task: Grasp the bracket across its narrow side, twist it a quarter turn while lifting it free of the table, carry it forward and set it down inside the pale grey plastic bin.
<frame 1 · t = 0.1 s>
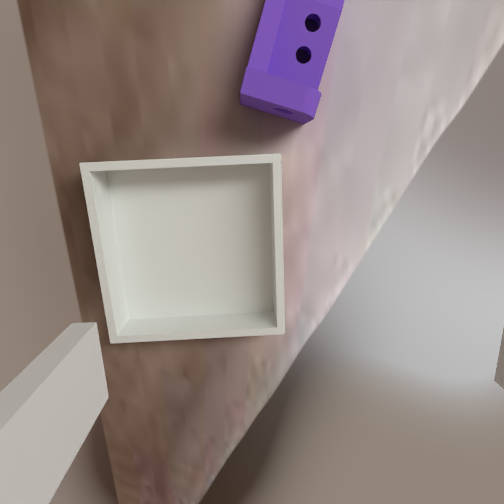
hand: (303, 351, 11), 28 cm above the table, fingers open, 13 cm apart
bin: (195, 243, 39), on the table
bracket: (289, 53, 34), on the table
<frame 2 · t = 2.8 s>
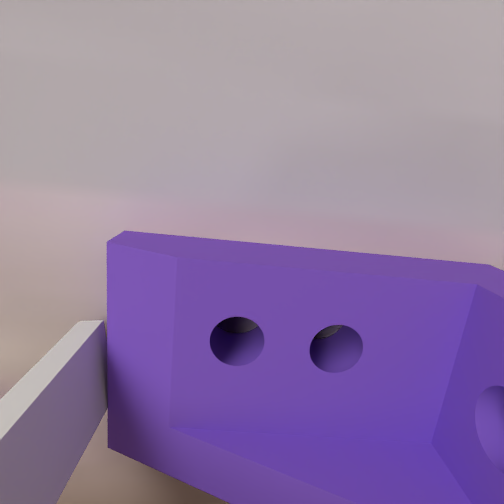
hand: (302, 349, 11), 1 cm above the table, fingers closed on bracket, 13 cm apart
bracket: (296, 339, 12), on the table, touching gripper
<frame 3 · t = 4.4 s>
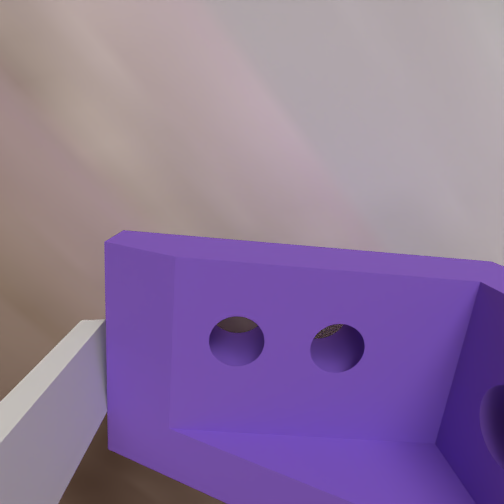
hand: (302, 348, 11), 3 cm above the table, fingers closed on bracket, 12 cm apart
bracket: (298, 338, 12), point 3 cm above the table, touching gripper
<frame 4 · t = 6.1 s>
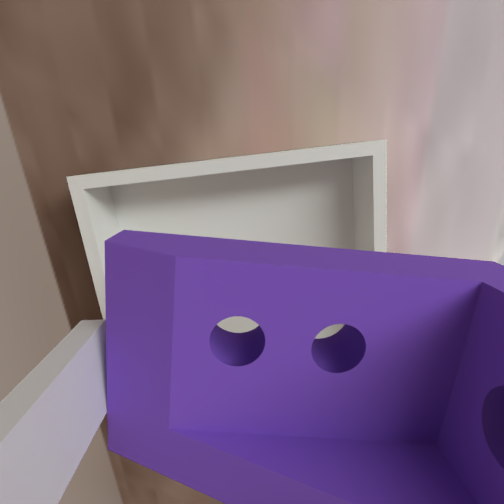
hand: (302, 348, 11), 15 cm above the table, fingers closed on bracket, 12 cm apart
bin: (244, 280, 27), on the table
bracket: (298, 339, 12), point 14 cm above the table, touching gripper
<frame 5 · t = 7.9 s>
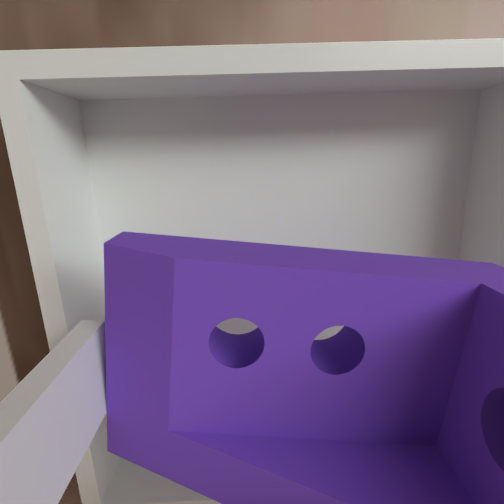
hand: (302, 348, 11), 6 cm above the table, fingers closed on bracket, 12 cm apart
bin: (281, 279, 17), on the table
bracket: (298, 340, 12), point 6 cm above the table, touching gripper
when the fingers open (3 cm above the table, at t = 9.2 s): bracket drops 2 cm, resting on bin.
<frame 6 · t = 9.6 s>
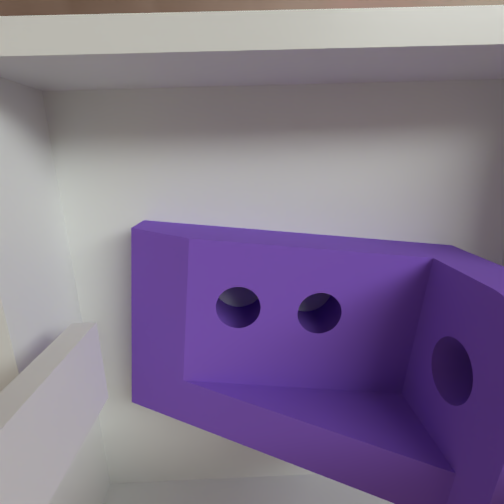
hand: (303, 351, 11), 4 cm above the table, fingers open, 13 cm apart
bin: (288, 304, 15), on the table
bracket: (290, 312, 14), resting on bin
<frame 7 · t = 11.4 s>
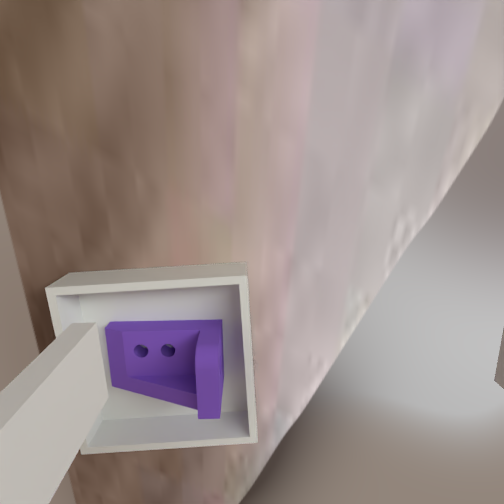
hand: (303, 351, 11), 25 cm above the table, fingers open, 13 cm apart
bin: (168, 346, 38), on the table
bracket: (169, 348, 38), resting on bin
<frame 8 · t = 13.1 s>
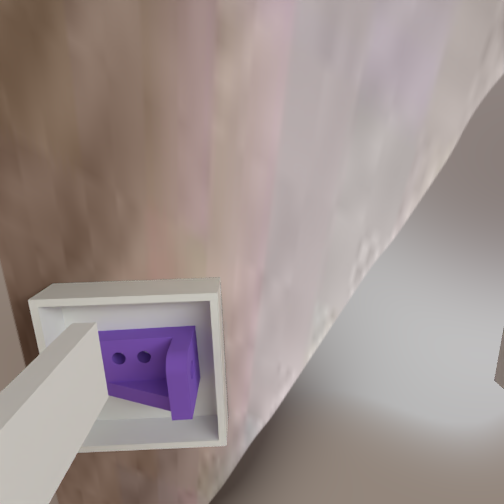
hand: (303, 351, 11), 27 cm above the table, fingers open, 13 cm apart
bin: (146, 354, 41), on the table
bracket: (146, 354, 40), resting on bin
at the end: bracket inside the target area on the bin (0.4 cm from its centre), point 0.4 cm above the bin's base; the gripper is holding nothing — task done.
